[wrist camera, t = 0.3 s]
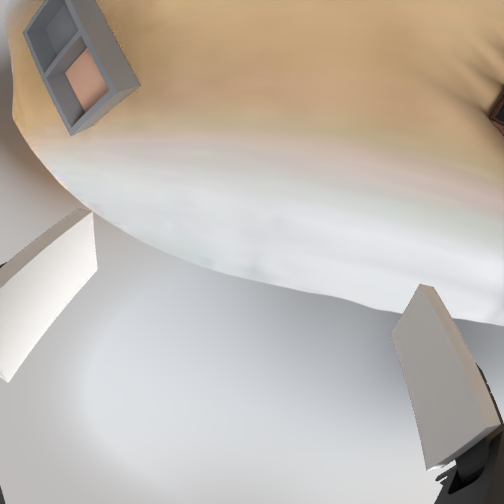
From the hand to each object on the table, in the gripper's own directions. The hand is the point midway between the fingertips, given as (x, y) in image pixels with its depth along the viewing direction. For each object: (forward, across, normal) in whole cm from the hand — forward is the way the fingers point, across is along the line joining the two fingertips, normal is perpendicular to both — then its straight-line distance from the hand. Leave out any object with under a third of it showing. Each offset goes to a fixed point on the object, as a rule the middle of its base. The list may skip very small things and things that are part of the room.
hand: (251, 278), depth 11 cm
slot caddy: (+29, -31, +12) cm, 44 cm away
